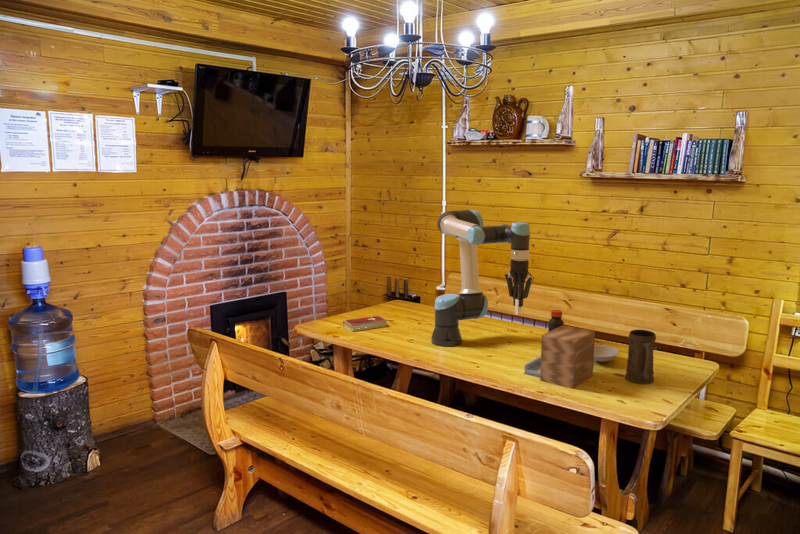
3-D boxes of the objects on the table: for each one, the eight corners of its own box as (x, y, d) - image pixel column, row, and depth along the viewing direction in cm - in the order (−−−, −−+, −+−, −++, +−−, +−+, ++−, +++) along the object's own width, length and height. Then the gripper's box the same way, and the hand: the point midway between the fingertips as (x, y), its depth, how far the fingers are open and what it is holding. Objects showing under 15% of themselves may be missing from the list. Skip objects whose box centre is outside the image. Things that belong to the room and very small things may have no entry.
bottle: (554, 356, 263) (556, 313, 260) (544, 352, 269) (545, 310, 266) (565, 353, 266) (567, 311, 263) (555, 349, 272) (557, 308, 269)
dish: (612, 370, 245) (613, 359, 244) (579, 364, 252) (579, 353, 252) (623, 358, 259) (623, 348, 258) (590, 353, 267) (591, 342, 266)
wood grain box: (540, 380, 234) (541, 335, 231) (561, 367, 248) (562, 325, 245) (573, 388, 225) (575, 341, 222) (592, 375, 239) (595, 331, 236)
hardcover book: (343, 327, 316) (343, 319, 315) (378, 322, 325) (377, 314, 325) (351, 332, 305) (351, 324, 305) (387, 327, 315) (387, 319, 314)
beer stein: (619, 374, 240) (623, 328, 235) (644, 373, 241) (649, 327, 236) (637, 390, 225) (642, 342, 220) (664, 389, 226) (669, 341, 221)
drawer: (524, 373, 242) (524, 364, 241) (539, 365, 251) (539, 356, 251) (569, 385, 229) (570, 375, 228) (583, 375, 239) (583, 366, 238)
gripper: (501, 258, 245) (500, 312, 249) (529, 262, 236) (527, 318, 240) (510, 256, 250) (509, 309, 254) (537, 259, 242) (535, 314, 246)
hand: (517, 313), depth 247 cm, fingers closed
